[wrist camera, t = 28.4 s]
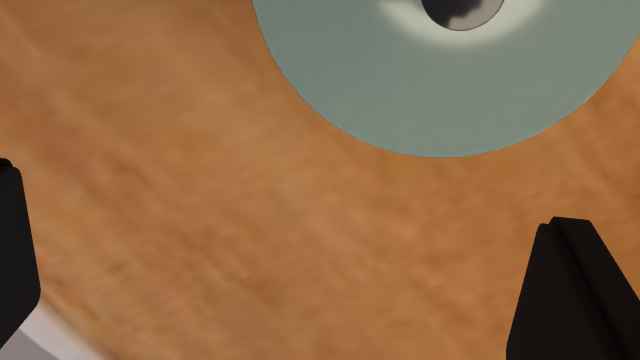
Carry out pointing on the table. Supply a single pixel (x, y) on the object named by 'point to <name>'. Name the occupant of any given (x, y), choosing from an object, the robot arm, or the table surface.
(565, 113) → the lid
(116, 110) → the table surface
